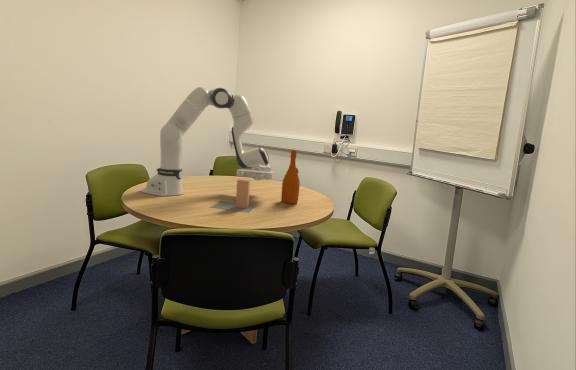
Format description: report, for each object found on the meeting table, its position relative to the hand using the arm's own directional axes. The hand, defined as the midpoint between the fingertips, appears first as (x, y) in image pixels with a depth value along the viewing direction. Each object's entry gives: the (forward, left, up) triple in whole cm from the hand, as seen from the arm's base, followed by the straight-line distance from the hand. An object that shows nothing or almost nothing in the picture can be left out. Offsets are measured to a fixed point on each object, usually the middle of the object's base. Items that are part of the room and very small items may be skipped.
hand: (251, 176), depth 189 cm
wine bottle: (+20, +13, -15) cm, 28 cm away
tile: (0, -12, -14) cm, 19 cm away
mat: (-4, -13, -15) cm, 20 cm away
